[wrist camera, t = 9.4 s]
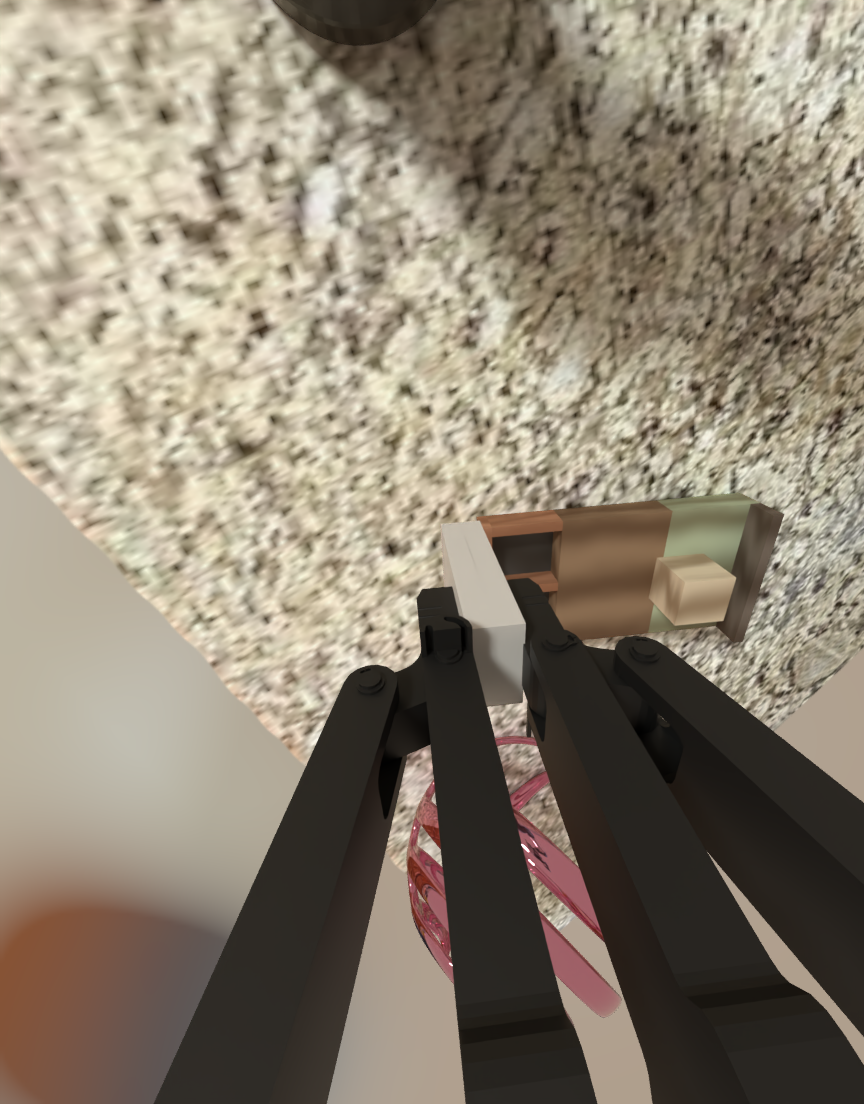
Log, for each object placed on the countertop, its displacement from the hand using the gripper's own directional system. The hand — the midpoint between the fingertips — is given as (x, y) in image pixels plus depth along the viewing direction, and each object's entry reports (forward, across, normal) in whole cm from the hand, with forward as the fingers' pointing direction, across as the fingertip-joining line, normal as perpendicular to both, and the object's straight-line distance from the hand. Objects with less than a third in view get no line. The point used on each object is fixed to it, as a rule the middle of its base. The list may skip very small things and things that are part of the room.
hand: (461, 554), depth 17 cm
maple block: (+23, +26, -18) cm, 39 cm away
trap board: (+26, +19, -18) cm, 37 cm away
